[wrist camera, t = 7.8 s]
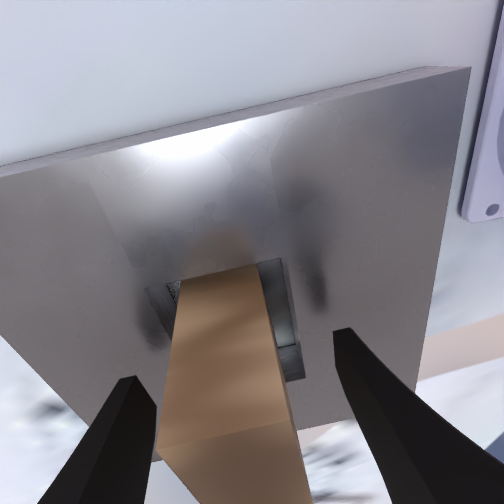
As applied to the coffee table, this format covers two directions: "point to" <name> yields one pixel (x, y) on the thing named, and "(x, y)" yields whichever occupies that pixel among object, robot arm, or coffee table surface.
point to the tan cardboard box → (229, 397)
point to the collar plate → (236, 235)
